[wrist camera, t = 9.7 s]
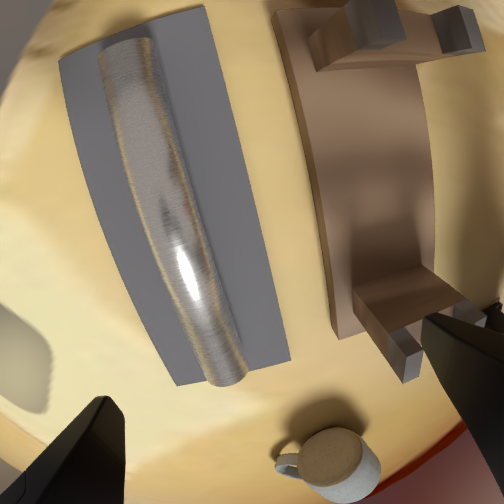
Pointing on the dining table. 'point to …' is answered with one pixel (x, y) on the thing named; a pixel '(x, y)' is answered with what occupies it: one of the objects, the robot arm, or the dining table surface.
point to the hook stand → (374, 163)
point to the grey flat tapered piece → (203, 185)
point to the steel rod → (169, 205)
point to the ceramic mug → (334, 465)
